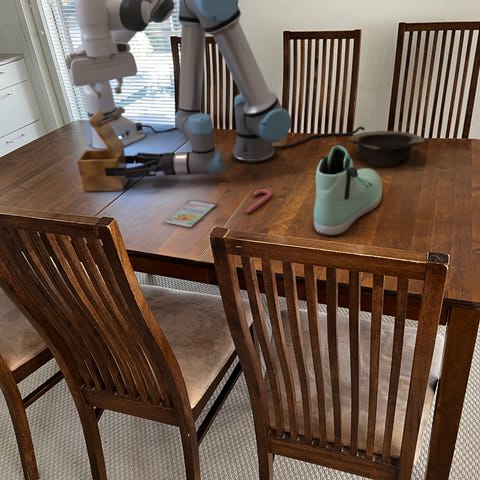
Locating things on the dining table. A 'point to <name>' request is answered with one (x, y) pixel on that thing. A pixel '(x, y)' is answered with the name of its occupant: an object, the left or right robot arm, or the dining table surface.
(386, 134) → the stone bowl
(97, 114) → the lid
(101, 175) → the chest
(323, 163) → the sneaker
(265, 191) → the candy cane
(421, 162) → the dining table surface
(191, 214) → the baking ingredient package
